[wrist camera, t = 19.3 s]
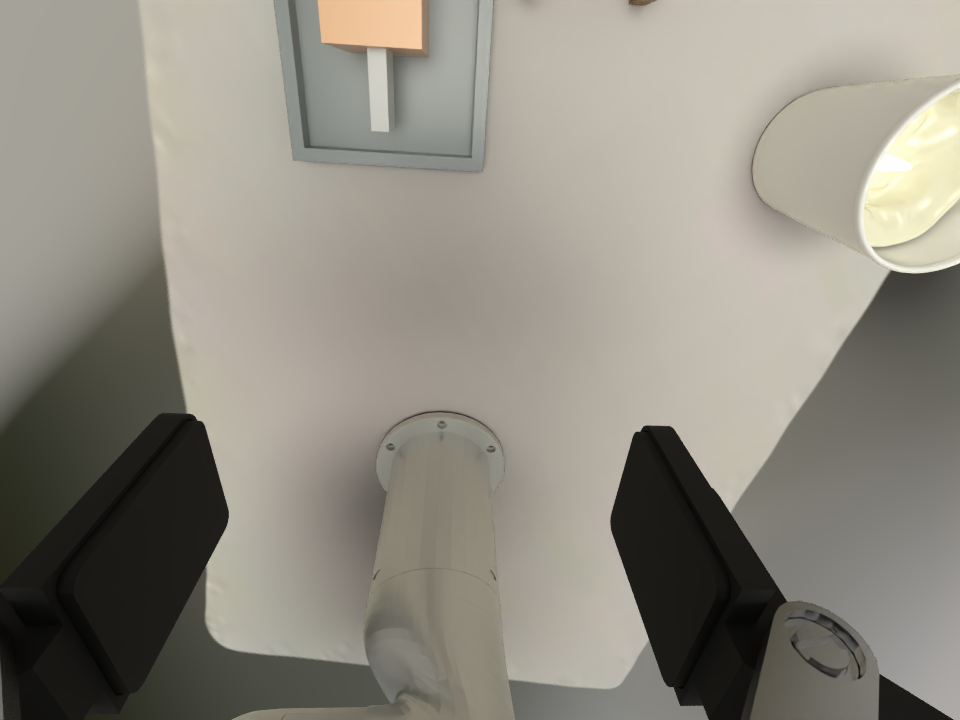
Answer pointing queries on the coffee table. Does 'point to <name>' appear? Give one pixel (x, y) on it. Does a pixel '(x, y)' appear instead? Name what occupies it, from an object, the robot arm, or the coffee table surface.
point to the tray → (417, 92)
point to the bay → (640, 2)
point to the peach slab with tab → (377, 42)
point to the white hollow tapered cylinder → (871, 169)
